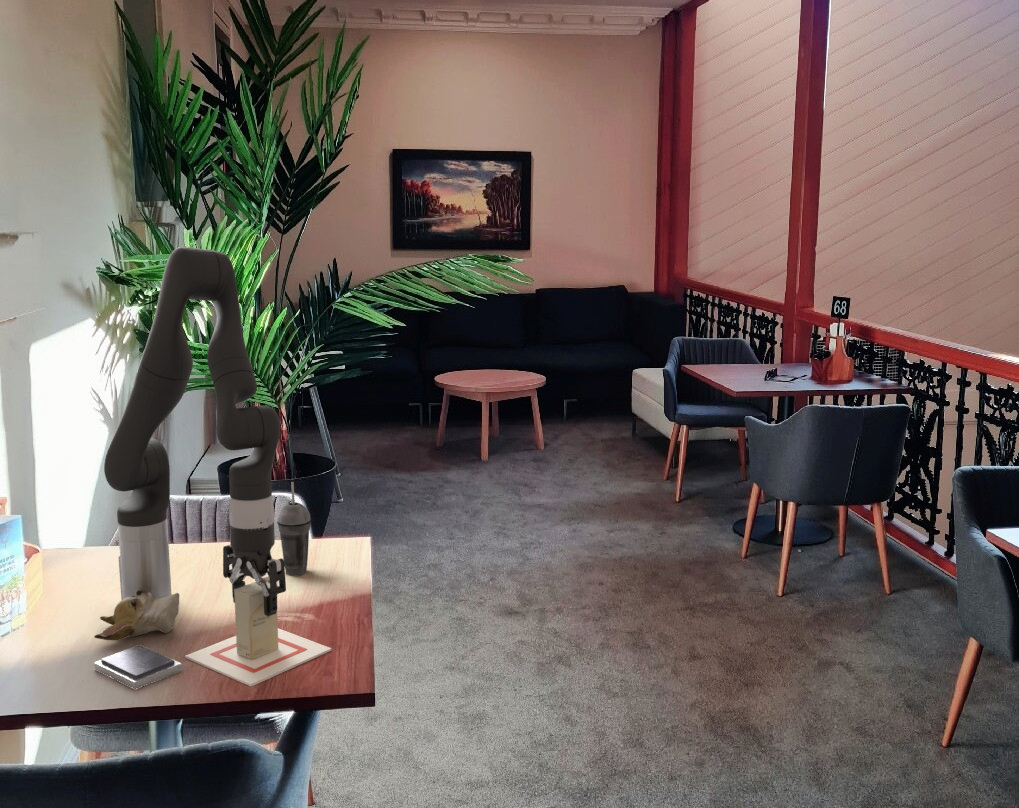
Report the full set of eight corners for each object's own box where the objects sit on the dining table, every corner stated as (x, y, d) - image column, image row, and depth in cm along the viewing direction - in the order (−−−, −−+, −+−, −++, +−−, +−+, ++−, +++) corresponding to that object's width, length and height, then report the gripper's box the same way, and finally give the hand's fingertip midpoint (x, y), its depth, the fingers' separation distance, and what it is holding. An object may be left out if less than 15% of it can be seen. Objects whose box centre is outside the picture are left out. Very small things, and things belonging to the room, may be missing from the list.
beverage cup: (279, 579, 220) (276, 488, 216) (278, 568, 227) (274, 480, 223) (314, 576, 222) (311, 486, 218) (311, 565, 229) (308, 478, 225)
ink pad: (94, 670, 176) (94, 659, 176) (141, 652, 184) (140, 642, 183) (135, 690, 169) (134, 678, 169) (181, 670, 176) (181, 660, 176)
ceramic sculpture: (176, 595, 187) (89, 608, 183) (182, 639, 189) (95, 653, 185) (179, 575, 197) (96, 587, 194) (184, 618, 199) (102, 630, 195)
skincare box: (251, 660, 179) (248, 594, 177) (235, 654, 182) (232, 589, 180) (280, 648, 184) (277, 584, 182) (263, 642, 187) (261, 579, 185)
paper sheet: (185, 657, 181) (185, 655, 181) (266, 625, 195) (266, 623, 195) (250, 686, 171) (250, 683, 171) (331, 650, 185) (331, 647, 185)
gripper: (208, 517, 180) (212, 604, 183) (260, 534, 171) (264, 625, 174) (243, 507, 185) (246, 592, 189) (295, 523, 177) (298, 612, 180)
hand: (254, 608), depth 181 cm, fingers open, 8 cm apart
